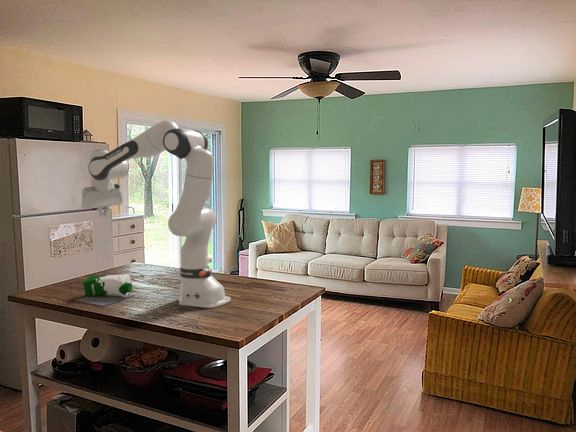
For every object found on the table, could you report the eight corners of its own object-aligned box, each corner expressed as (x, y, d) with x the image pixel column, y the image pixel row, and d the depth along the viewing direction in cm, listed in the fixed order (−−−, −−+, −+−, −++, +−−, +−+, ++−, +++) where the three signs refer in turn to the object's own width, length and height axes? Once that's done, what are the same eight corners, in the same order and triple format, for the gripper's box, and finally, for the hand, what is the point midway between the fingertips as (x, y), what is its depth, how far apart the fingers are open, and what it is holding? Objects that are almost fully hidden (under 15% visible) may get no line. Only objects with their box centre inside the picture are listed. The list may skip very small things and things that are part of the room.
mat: (133, 296, 207) (133, 295, 207) (102, 306, 194) (102, 305, 194) (106, 291, 216) (106, 290, 216) (75, 300, 202) (75, 299, 202)
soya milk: (81, 281, 204) (126, 281, 202) (91, 272, 212) (134, 271, 210) (85, 299, 206) (129, 299, 205) (94, 289, 215) (137, 289, 213)
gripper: (86, 187, 206) (89, 219, 207) (123, 184, 223) (125, 214, 225) (77, 187, 209) (79, 218, 210) (114, 185, 226) (116, 213, 228)
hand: (103, 216), depth 218 cm, fingers closed
